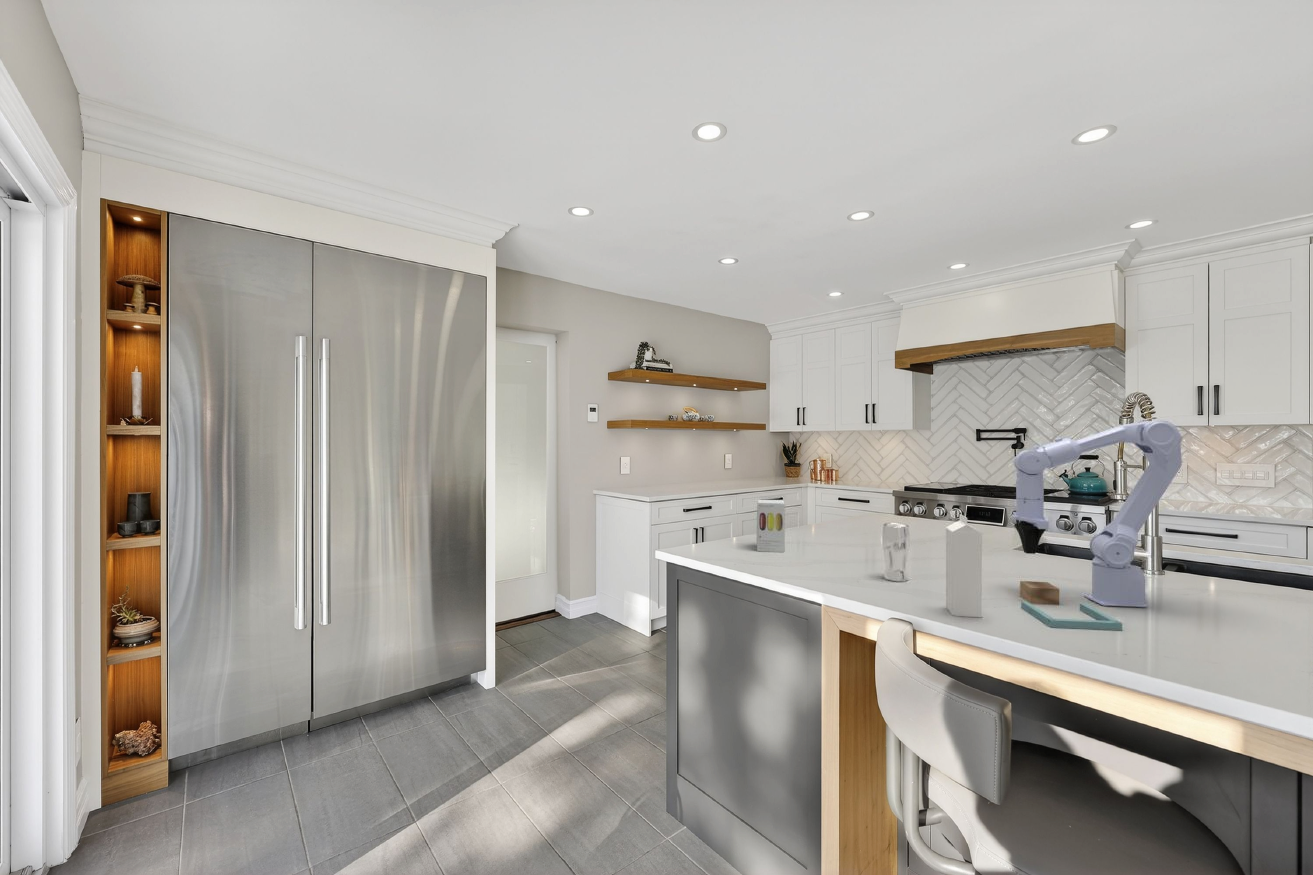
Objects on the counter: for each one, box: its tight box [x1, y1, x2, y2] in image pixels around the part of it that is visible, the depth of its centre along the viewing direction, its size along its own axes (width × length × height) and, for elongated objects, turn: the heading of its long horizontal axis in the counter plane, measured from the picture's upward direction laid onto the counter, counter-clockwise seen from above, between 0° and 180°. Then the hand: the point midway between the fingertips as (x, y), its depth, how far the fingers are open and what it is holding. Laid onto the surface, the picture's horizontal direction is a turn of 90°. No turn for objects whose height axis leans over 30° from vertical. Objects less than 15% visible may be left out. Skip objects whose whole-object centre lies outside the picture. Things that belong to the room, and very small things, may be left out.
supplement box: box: [756, 499, 786, 553], centre depth 198 cm, size 10×9×17 cm
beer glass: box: [881, 522, 911, 583], centre depth 158 cm, size 7×7×15 cm
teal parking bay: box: [1020, 600, 1123, 631], centre depth 125 cm, size 13×13×2 cm
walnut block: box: [1019, 580, 1060, 606], centre depth 138 cm, size 6×6×4 cm
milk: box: [945, 513, 983, 618], centre depth 129 cm, size 6×6×22 cm
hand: (1029, 553), depth 142 cm, fingers closed
